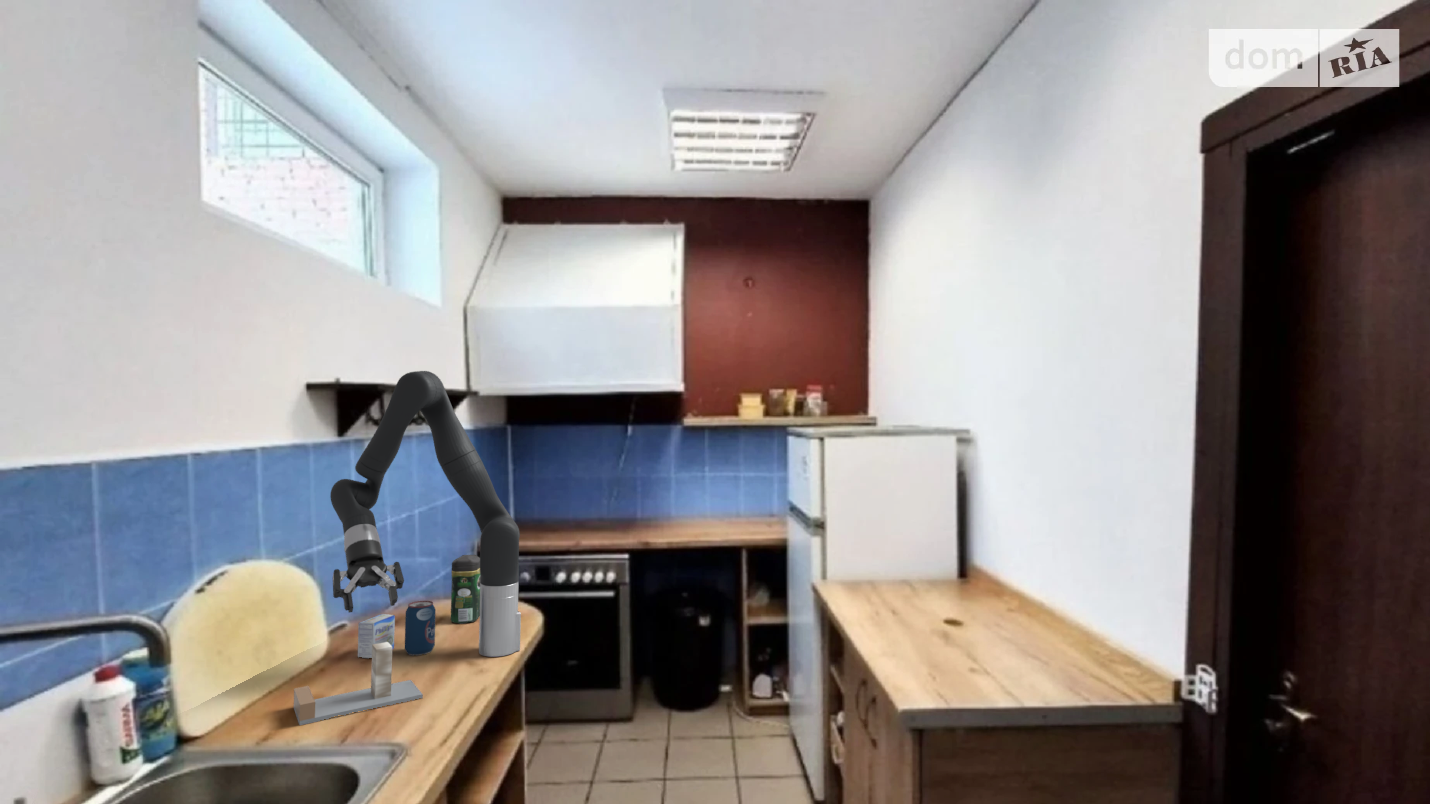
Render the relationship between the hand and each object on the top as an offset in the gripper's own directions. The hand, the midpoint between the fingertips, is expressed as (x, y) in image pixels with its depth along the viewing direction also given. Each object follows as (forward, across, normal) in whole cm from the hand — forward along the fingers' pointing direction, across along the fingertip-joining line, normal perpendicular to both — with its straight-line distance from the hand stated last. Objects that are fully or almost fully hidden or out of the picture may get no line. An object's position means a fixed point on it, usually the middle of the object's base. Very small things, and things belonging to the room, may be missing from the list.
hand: (372, 607), depth 151 cm
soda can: (+2, +13, +22) cm, 26 cm away
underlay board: (+20, -4, +3) cm, 20 cm away
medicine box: (-2, +4, +25) cm, 26 cm away
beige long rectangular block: (+19, 0, +3) cm, 19 cm away
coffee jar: (-14, +31, +38) cm, 51 cm away
